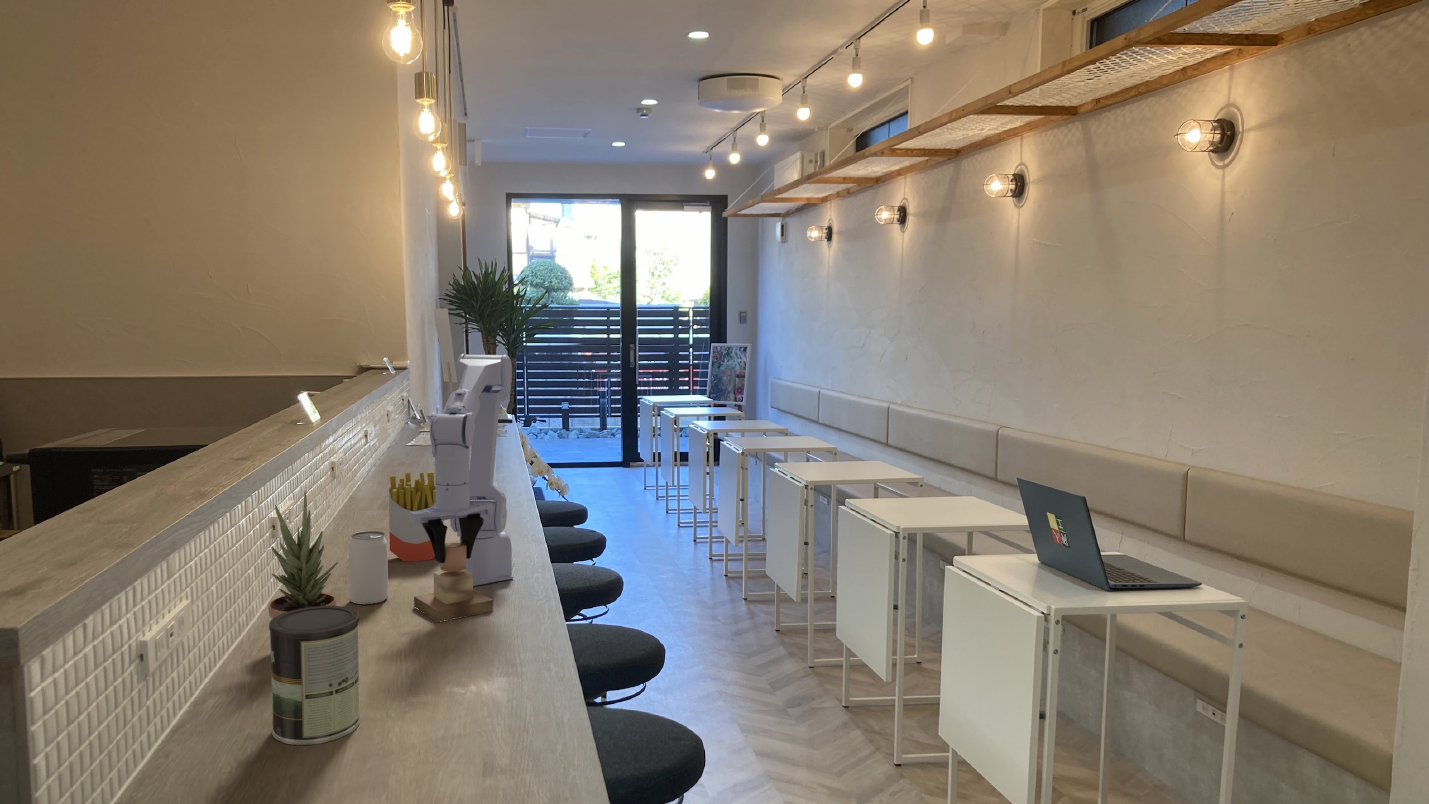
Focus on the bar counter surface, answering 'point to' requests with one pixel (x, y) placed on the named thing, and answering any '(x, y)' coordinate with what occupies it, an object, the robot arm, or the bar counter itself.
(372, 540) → the can
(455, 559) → the brown rounded piece
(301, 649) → the coffee can
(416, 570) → the bar counter surface
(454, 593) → the block
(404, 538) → the french fries container
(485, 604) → the board
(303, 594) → the potted plant
